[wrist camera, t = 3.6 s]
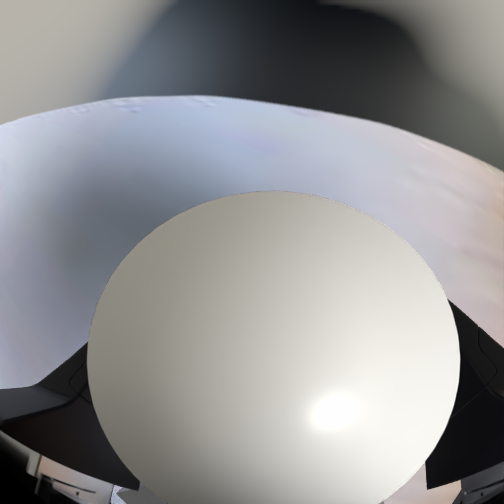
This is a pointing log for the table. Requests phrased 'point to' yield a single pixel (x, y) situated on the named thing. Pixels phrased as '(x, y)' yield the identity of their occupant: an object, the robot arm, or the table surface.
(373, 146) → the table surface
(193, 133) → the table surface
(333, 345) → the peg
